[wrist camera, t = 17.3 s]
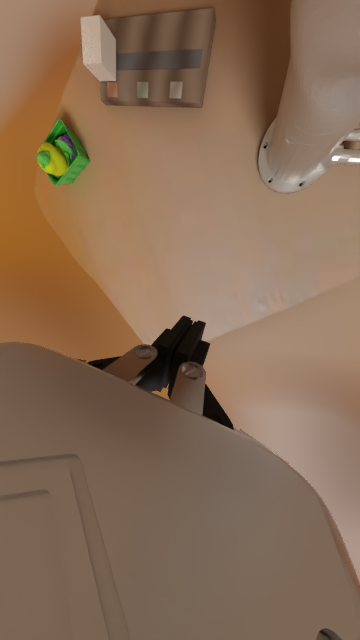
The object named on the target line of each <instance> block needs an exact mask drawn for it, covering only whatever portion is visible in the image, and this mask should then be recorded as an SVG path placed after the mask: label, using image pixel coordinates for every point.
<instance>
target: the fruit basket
mask: <svg viewBox="0 0 360 640" xmlns="http://www.w3.org/2000/svg"><path fill="white" fill-rule="evenodd" d="M37 161H38V164H39V166H40V167H41V168H42V169H43V170H44V171H45V172H46V173H47V175H48V177H49V178H50V180H51V182H52V184H53V185H60V184H72V183H73V181H74V179H76V178H77V177H78V176H79V174H80V172H82V171H83V170H84V168H85V166H87V165H88V164H89V163H90V160H89V159H88V157H87V154H86V152H85V150H84V148H83V146H82V145H81V143H80V140H79V139H78V138H77V137H76V136H75V135H74V134H73V133H72V132H71V131H70V130H69V128H68V127H67V126H66V125H65V123H64V122H63V121H62V120H61V119H59V120H57V122H56V124H55V125H54V127H53V129H52V130H51V132H50V133H49V135H48V137H47V138H46V140H45V141H44V143H42V144H41V145H40V147H39V149H38V152H37Z"/></svg>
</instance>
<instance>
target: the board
mask: <svg viewBox="0 0 360 640" xmlns="http://www.w3.org/2000/svg"><path fill="white" fill-rule="evenodd" d="M103 21H104V22H105V24H106V25H107V27H108V28H109V30H110V31H111V33H112V34H113V36H114V37H115V39H116V81H101V101H102V102H103V103H105V104H106V105H121V106H158V107H196V108H202V104H203V98H204V92H205V85H206V79H207V73H208V66H209V60H210V54H211V48H212V41H213V35H214V29H215V22H216V14H215V8H206V9H196V10H187V11H178V12H169V13H160V14H150V15H141V16H132V17H123V18H114V19H104V20H103Z"/></svg>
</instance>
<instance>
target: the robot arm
mask: <svg viewBox="0 0 360 640" xmlns="http://www.w3.org/2000/svg"><path fill="white" fill-rule="evenodd" d="M359 124H360V0H291V12H290V60H289V65H288V70H287V75H286V79H285V84H284V88H283V92H282V96H281V101H280V105H279V109H278V113H277V117H276V118H275V119H274V121H273V122H272V123H271V125H270V126H269V128H268V130H267V132H266V134H265V136H264V138H263V141H262V143H261V147H260V151H259V157H258V168H259V174H260V176H261V179H262V181H263V182H264V184H265V185H266V186H267V187H268V188H269V189H271V190H273V191H275V192H278V193H293V192H297V191H299V190H302V189H304V188H306V187H308V186H309V185H311V184H312V183H314V182H315V181H316V180H317V179H319V178H320V177H321V176H322V175H323V174H324V173H325V172H326V170H327V169H328V168H329V167H330V166H331V167H333V166H334V165H335V164H344V165H346V166H358V165H359V163H360V149H343V148H344V145H342V142H343V141H350V142H360V129H355V128H356V127H357V126H358V125H359ZM264 146H266V149H264ZM269 180H271V183H269V182H268V181H269ZM299 184H302V186H301V187H300V186H299ZM192 323H193V321H192V320H191V318H189V317H186V316H182V317H181V319H180V320H179V321H178V322H177V323H176V325H175V326H174V327H173V328H172V329H171V330H170V329H165V331H164V332H163V333H162V334H161V335H160V336H159V337H158V338H157V339H156V340H155V342H154V343H153V344H152V345H151V346H150V345H146V344H144V345H138V346H136V347H134V348H133V349H131V350H130V351H128V352H127V353H126V354H124V355H123V356H120V357H113V358H107V359H100V360H94V361H90V362H88V363H87V361H86V360H81V359H76V358H72V357H70V356H68V355H65V354H63V353H61V352H58V351H55V350H53V349H50V348H47V347H44V346H40V345H36V344H30V343H21V342H6V343H0V640H360V584H359V580H358V578H357V575H356V572H355V569H354V566H353V564H352V561H351V558H350V556H349V553H348V551H347V548H346V546H345V543H344V541H343V538H342V536H341V533H340V531H339V529H338V527H337V524H336V522H335V520H334V518H333V516H332V514H331V512H330V510H329V509H328V507H327V505H326V504H325V502H324V501H323V499H322V498H321V497H320V495H319V494H318V493H317V491H316V490H315V489H314V488H313V487H312V486H311V485H310V483H308V481H307V480H305V478H304V477H303V476H302V475H300V473H298V472H297V471H296V470H295V469H294V468H293V467H291V466H290V465H289V463H288V462H287V461H285V460H284V459H283V458H282V457H280V456H279V455H277V454H276V453H275V452H273V451H272V450H270V449H269V448H267V447H266V446H264V445H263V444H261V443H260V442H259V441H257V440H256V439H254V438H253V437H251V436H250V435H248V434H247V433H245V432H244V431H242V430H241V429H240V430H239V431H238V430H237V429H235V428H234V427H233V424H232V423H231V421H230V419H229V418H228V416H227V415H226V413H225V412H224V410H223V409H222V407H221V406H220V404H219V403H218V401H217V400H216V398H215V397H214V395H213V394H212V392H211V391H210V389H209V388H208V387H207V385H206V384H205V379H206V372H205V370H204V368H203V364H204V362H205V358H206V355H207V352H208V349H209V346H210V343H208V342H205V341H202V340H201V339H202V335H203V331H204V328H205V324H206V323H205V322H202V321H199V320H198V322H194V323H193V325H192ZM168 384H169V386H168V389H169V390H168V396H169V399H170V401H169V400H167V399H165V398H163V397H160V396H158V395H156V394H154V393H152V391H156V390H157V391H159V392H161V390H162V388H163V387H164V388H166V387H167V385H168Z"/></svg>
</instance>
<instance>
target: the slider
mask: <svg viewBox="0 0 360 640" xmlns="http://www.w3.org/2000/svg"><path fill="white" fill-rule="evenodd" d="M81 33H82V49H83V64H84V65H85V66H86V67H87V68H88V69H89V70H90V71H91V73H92V74H93V75H94V76H95V77H96V78H97V79H98V80H99V81H116V39H115V37H114V36H113V34H112V33H111V31H110V30H109V28H108V27H107V25H106V24H105V22H104V21H103V19H102V18H101V16H100V15H96V16H87V17H81Z"/></svg>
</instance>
